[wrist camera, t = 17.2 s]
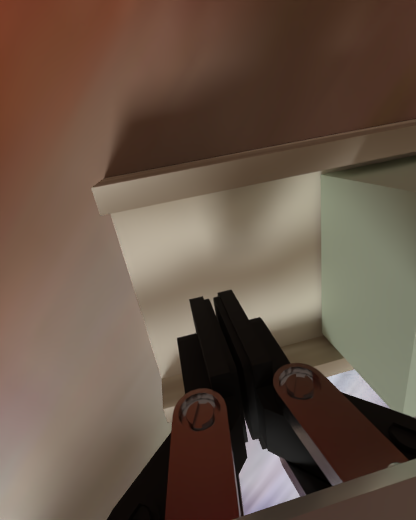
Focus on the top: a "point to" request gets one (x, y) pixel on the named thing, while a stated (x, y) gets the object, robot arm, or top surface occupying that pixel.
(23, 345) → the top surface
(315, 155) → the channel
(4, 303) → the top surface
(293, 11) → the top surface
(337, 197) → the sliding block
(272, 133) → the top surface
